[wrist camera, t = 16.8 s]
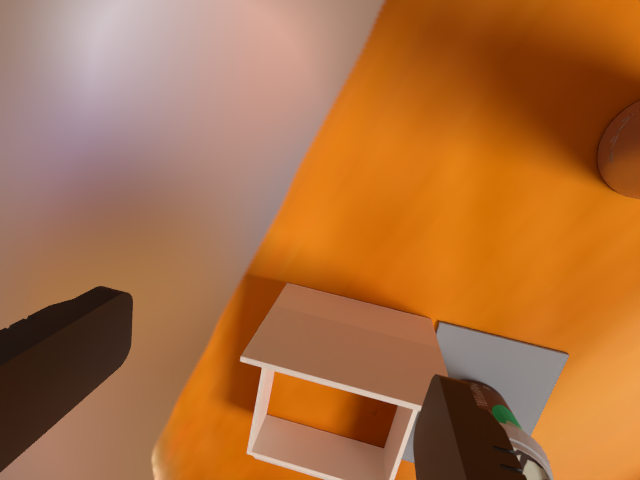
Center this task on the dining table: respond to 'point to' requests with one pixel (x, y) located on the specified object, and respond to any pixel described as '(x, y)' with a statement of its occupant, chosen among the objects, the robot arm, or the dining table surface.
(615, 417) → the dining table surface
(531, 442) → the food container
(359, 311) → the carton
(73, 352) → the robot arm
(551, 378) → the slate mat
